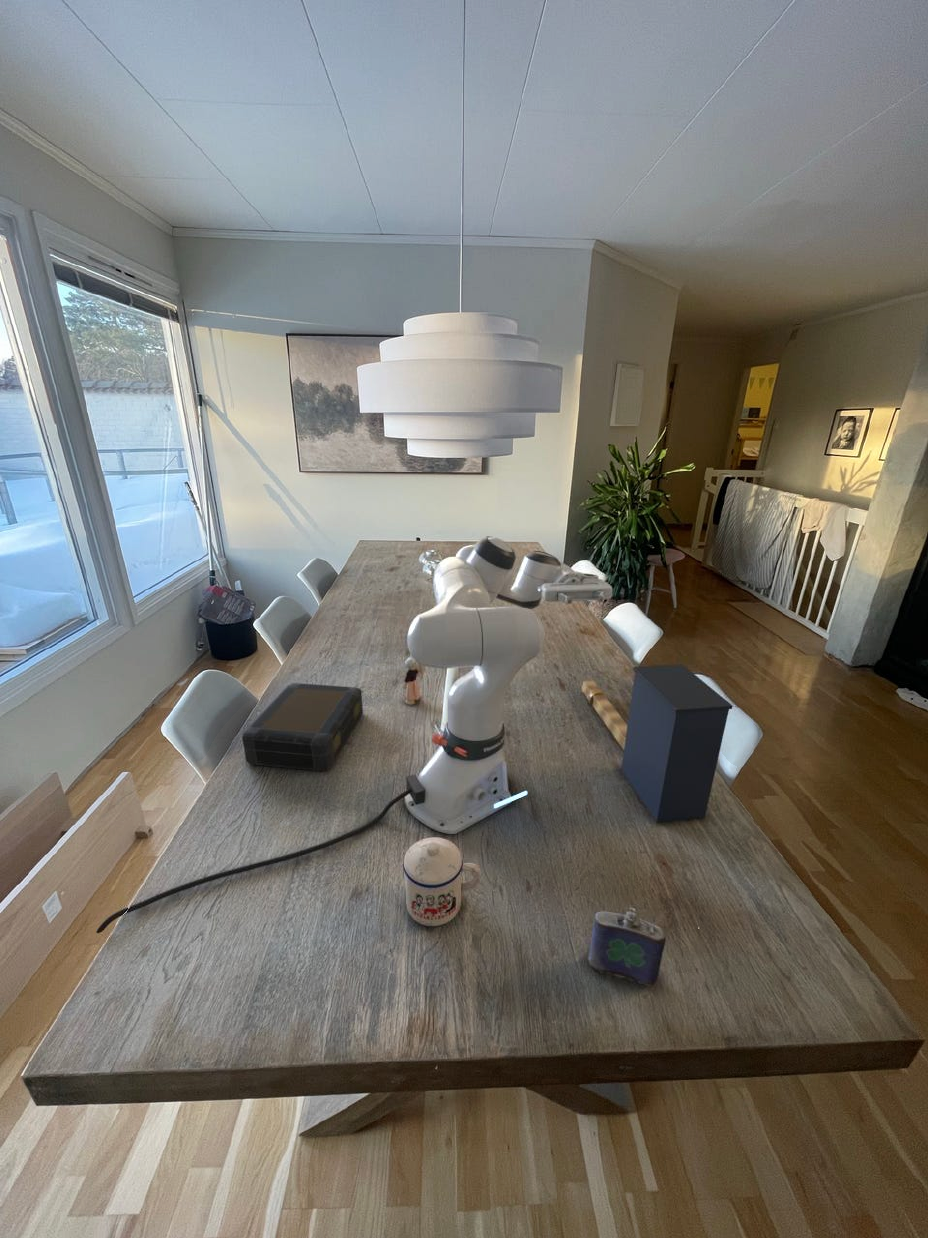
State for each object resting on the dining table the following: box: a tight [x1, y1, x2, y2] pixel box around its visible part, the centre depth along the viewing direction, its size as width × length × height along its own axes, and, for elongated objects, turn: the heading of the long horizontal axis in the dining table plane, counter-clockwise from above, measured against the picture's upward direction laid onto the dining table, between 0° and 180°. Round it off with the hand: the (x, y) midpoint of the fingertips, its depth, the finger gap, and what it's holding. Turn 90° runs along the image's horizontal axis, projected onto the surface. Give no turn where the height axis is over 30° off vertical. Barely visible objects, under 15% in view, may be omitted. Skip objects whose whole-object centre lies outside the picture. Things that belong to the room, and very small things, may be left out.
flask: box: [587, 906, 667, 987], centre depth 70 cm, size 9×3×11 cm, turn 72°
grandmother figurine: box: [402, 656, 421, 706], centre depth 138 cm, size 8×4×13 cm, turn 168°
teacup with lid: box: [402, 836, 482, 927], centre depth 79 cm, size 12×9×12 cm
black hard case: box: [241, 682, 364, 772], centre depth 122 cm, size 25×20×8 cm
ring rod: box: [581, 679, 628, 751], centre depth 130 cm, size 29×4×4 cm, turn 9°
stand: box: [620, 663, 733, 823], centre depth 101 cm, size 17×11×25 cm, turn 8°
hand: (585, 600), depth 142 cm, fingers open, 8 cm apart
